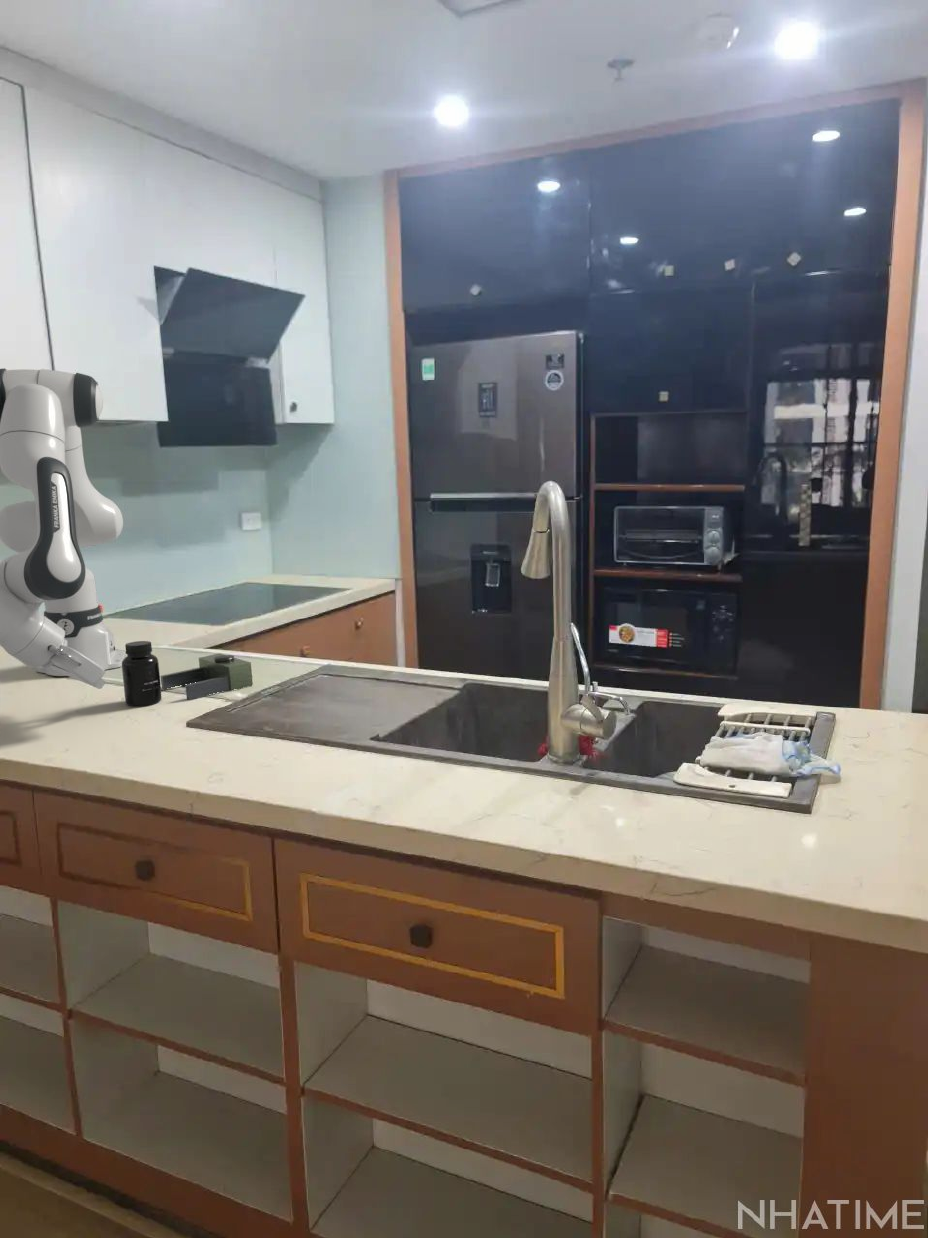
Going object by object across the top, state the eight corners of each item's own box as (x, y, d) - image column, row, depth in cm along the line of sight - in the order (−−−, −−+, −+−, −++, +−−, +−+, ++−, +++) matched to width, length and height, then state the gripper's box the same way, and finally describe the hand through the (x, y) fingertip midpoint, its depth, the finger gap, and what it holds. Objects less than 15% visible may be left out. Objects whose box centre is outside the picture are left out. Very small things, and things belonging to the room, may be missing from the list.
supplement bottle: (155, 706, 171) (148, 646, 168) (120, 708, 171) (113, 647, 168) (167, 696, 177) (161, 638, 175) (133, 697, 178) (127, 639, 175)
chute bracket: (190, 700, 174) (187, 673, 173) (160, 689, 183) (158, 663, 182) (252, 685, 183) (250, 659, 182) (221, 675, 193) (219, 650, 191)
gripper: (72, 636, 153) (133, 679, 161) (32, 623, 167) (90, 663, 176) (49, 666, 150) (112, 708, 159) (10, 650, 165) (70, 689, 173)
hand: (100, 684), depth 167 cm, fingers closed
